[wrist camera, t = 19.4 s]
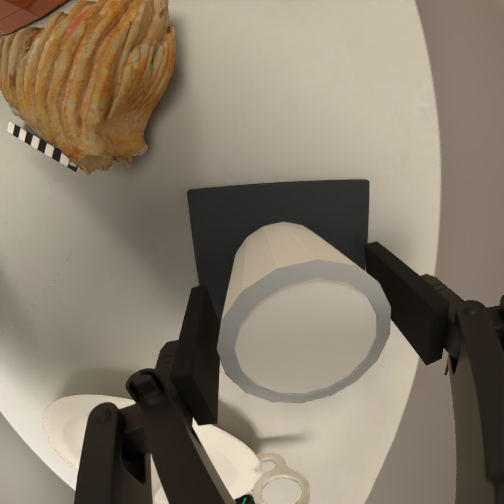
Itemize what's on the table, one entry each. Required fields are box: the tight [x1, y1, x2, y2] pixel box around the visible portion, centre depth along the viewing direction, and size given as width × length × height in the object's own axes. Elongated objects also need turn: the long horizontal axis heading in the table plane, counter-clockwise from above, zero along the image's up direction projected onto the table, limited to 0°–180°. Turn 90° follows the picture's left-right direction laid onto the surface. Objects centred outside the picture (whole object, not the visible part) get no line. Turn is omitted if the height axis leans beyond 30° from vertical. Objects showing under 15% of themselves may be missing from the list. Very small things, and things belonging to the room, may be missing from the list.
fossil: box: [0, 0, 176, 175], centre depth 11 cm, size 12×6×9 cm
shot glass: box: [217, 222, 391, 403], centre depth 14 cm, size 7×7×7 cm
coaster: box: [187, 180, 369, 325], centre depth 18 cm, size 10×10×1 cm
